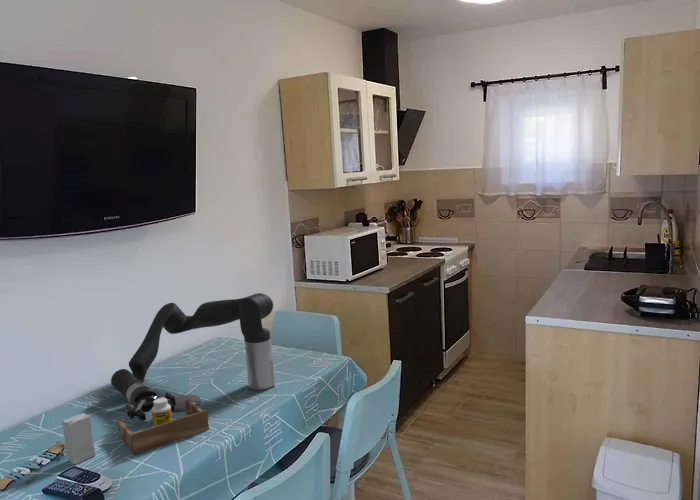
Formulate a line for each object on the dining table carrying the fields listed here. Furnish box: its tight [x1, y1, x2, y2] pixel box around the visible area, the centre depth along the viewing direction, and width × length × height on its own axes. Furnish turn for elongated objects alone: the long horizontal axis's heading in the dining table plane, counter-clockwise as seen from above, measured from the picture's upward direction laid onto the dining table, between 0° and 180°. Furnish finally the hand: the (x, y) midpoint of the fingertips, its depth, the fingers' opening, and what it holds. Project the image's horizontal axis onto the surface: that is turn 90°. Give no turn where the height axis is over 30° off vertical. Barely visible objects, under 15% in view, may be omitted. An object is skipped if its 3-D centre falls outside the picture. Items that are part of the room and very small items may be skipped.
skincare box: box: [61, 412, 96, 465], centre depth 154 cm, size 6×4×12 cm
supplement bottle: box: [150, 398, 173, 427], centre depth 167 cm, size 6×6×10 cm
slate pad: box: [171, 394, 201, 413], centre depth 188 cm, size 12×12×1 cm
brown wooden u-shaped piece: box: [116, 399, 210, 456], centre depth 167 cm, size 15×22×6 cm
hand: (158, 412), depth 169 cm, fingers open, 8 cm apart
